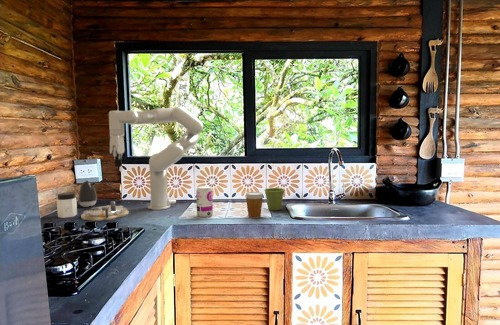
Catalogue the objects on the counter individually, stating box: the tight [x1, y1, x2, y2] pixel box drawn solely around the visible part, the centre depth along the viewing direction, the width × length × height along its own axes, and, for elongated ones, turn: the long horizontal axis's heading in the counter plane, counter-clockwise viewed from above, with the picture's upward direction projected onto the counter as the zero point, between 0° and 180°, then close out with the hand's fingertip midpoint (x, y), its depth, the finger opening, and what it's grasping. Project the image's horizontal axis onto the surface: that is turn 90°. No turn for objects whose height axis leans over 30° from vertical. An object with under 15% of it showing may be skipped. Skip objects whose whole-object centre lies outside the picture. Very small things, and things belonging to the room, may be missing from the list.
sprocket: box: [83, 200, 127, 217], centre depth 170 cm, size 21×21×6 cm
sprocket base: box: [80, 208, 130, 222], centre depth 171 cm, size 23×23×5 cm
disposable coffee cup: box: [244, 191, 265, 218], centre depth 165 cm, size 10×10×12 cm
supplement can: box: [195, 185, 214, 218], centre depth 167 cm, size 8×8×15 cm
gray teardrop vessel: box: [77, 180, 98, 208], centre depth 193 cm, size 10×10×15 cm
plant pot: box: [263, 187, 286, 211], centre depth 180 cm, size 12×12×11 cm
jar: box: [56, 191, 78, 219], centre depth 169 cm, size 9×8×12 cm
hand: (118, 166), depth 178 cm, fingers closed
